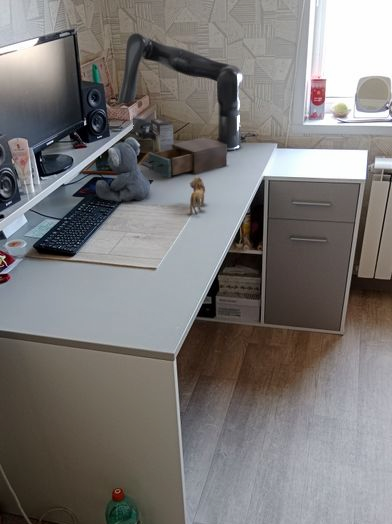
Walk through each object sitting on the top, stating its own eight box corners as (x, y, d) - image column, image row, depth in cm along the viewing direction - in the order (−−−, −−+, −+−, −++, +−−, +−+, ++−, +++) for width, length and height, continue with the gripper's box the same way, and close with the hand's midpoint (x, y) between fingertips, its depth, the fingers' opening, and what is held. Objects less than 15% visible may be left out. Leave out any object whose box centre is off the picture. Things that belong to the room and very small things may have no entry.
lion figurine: (190, 200, 199) (189, 175, 194) (205, 200, 199) (204, 175, 194) (189, 216, 187) (188, 189, 182) (205, 216, 187) (205, 189, 182)
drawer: (156, 181, 215) (155, 163, 211) (137, 172, 224) (135, 155, 220) (200, 169, 226) (200, 152, 222) (180, 162, 235) (179, 145, 231)
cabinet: (194, 174, 224) (194, 151, 219) (172, 165, 234) (172, 144, 229) (226, 165, 233) (226, 144, 228) (204, 158, 242) (204, 137, 237)
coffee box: (152, 158, 243) (150, 119, 233) (166, 156, 245) (164, 117, 236) (160, 164, 236) (158, 123, 227) (174, 162, 238) (173, 122, 229)
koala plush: (121, 185, 215) (116, 131, 204) (161, 192, 208) (158, 137, 196) (93, 199, 203) (86, 143, 192) (134, 207, 195) (129, 150, 184)
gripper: (126, 121, 239) (147, 128, 228) (154, 116, 246) (176, 122, 235) (128, 139, 243) (149, 147, 233) (155, 134, 250) (176, 141, 240)
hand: (162, 135), depth 234 cm, fingers open, 8 cm apart
